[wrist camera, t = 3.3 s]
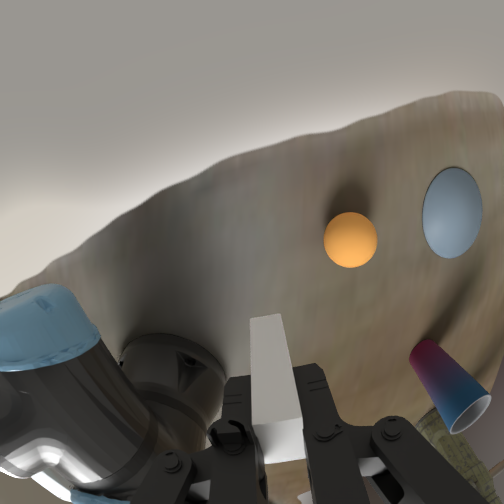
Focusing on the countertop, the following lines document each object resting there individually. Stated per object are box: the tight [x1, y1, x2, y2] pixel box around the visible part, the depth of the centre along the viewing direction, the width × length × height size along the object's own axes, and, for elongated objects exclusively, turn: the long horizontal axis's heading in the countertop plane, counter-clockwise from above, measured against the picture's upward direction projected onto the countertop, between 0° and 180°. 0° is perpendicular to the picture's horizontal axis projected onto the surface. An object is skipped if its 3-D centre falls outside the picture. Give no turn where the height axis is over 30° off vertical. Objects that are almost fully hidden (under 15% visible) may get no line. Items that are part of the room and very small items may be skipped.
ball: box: [324, 212, 377, 267], centre depth 27 cm, size 6×6×6 cm
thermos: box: [415, 408, 502, 504], centre depth 24 cm, size 9×12×35 cm
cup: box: [409, 339, 491, 434], centre depth 28 cm, size 7×7×15 cm
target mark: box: [422, 168, 482, 258], centre depth 29 cm, size 12×12×1 cm
